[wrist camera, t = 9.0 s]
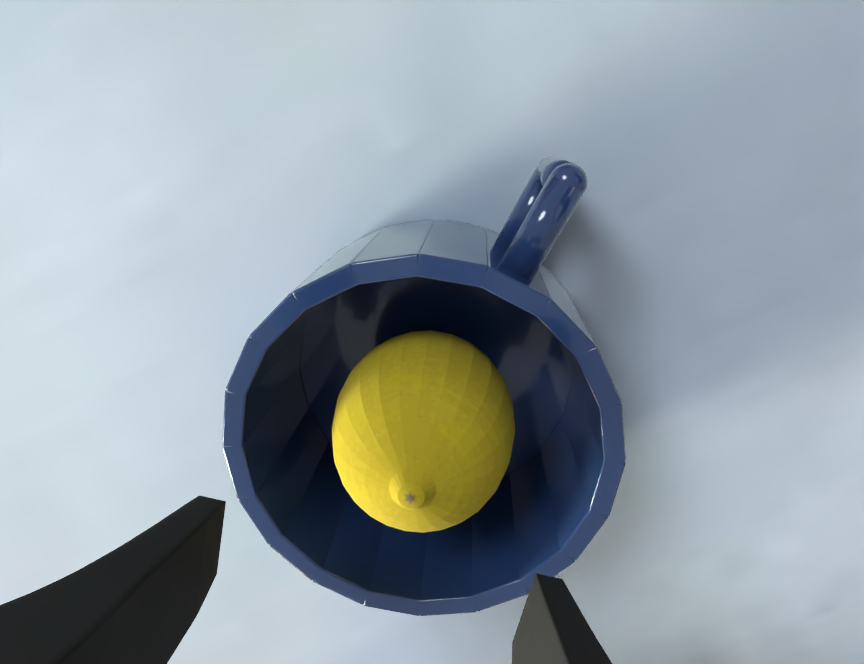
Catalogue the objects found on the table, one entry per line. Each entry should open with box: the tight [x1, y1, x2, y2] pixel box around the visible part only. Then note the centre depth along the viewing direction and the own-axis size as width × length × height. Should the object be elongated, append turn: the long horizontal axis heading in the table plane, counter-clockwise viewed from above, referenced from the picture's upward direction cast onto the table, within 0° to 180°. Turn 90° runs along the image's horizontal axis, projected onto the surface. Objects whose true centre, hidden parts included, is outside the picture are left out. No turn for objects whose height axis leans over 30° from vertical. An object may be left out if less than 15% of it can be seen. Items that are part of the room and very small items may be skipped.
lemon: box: [332, 330, 515, 533], centre depth 19 cm, size 6×6×8 cm
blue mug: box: [222, 157, 625, 616], centre depth 20 cm, size 14×11×6 cm
